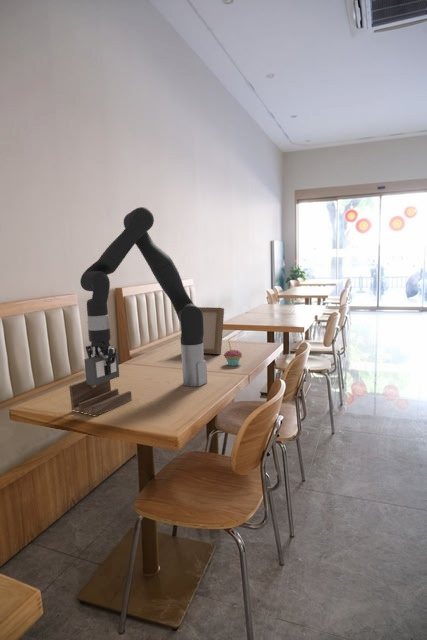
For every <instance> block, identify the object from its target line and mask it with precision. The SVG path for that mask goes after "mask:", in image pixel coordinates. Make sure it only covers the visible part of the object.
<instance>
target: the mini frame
mask: <svg viewBox="0 0 427 640" xmlns="http://www.w3.org/2000/svg"><path fill="white" fill-rule="evenodd" d="M118 354H119V353H118V352H116V357H115V362H114V363H112V364H111V374H110V375H108V376H106V375H105V371H104V366H105V365H104V361H103V360H102V358H101V356H96V357H92V356H91V358H88V357H87V358H85V359H83V360H84V369H85V370H84V372H85V380H86V383H87V384H88V385H94V386H95V385H97V384H100V383H103V382H106V381H109V380H110V381H111V380H114V379H117V378H119V377H120V367H119V356H118ZM106 356H107V355H105V357H106ZM111 360H112V358H111ZM106 361H108V359H107V358H106Z"/></svg>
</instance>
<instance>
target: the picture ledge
mask: <svg viewBox="0 0 427 640" xmlns="http://www.w3.org/2000/svg"><path fill="white" fill-rule="evenodd" d="M68 388H69V394H70V395H69V396H70V402H71V403H70V405H71V411H72V410H75V411H79V412H83V413H87V414H91V415H98V414H100V413H102V414H104V413H103V412H105V411H107V412H109V411H111V410H114V409H116V408H118V407H120V406H122V404H123V405H125V404H127V403H129V402H131V401H132V400H133V397H132V391H131V390H128V391H125V392H123V393H121V394H119V389H118V388H115V389H111V380H109V381H106V382H103V383H100V384H97V385H95V386H94V385H88V384H87V383H86V379H85V380H82V381H79V382H77V383H74V384H73V383H72V384H71V385H69V387H68ZM117 406H118V407H117ZM115 407H116V408H115ZM113 408H114V409H113ZM110 409H111V410H110ZM108 410H109V411H108ZM105 413H106V412H105ZM100 415H101V414H100ZM98 416H99V415H98Z"/></svg>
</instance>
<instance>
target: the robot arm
mask: <svg viewBox="0 0 427 640" xmlns="http://www.w3.org/2000/svg"><path fill="white" fill-rule="evenodd" d="M154 222H155V219H154V214H153V213H152V211H151V210H150V209H149V208H147V207H143V206H142V207H141V206H140V207H139V206H138V207H137V208H135V209H133V210H132V211H130V212H129V213H127V214H126V215H125V216H124V218H123V227H124V229H123V231H122V232H121V233H120V234H119V235H118V236H117V237H116V238H115V239H114V240H113V241H112V242H111V243H110V244H109V245H108V246H107V247H106V248H105V250H104V251H103V253H102V254H101V255H100V257H99V258H98V259H97V260H96V261H95V262H94V263H92V264H91V265H90V266H89V267H88V268H87V269H86V270H84V272H83V274H82V275H81V277H80V279H79V280H80V286H81V288H82V289H83V290H84V291H87V292H92V295H91V296H92V297H91V298H89V299H87V301H86V312H87V314H86V315H87V330H88V331H87V332H88V333H87V334H88V340H89V342H90V345H87V346H85V351H86V354H87V358H91V357H96V356H101V358H102V360H103V361H104V365H105V366H104V371H105V375H106V376H108V375H110V374H111V364H112V363H114V362H115V357H116V353H117V347H115V346H114V347H113V346H111V344H110V341H111V340H112V339H111V337H112V335H111V326H110V317H109V311H108V310H109V309H108V300H109V293H110V287H111V281H110V278H109V276H108V275H111V274H113V273H115V272H116V270H117V269H118V267H119V266H120V265H121V263H123V261H124V259H125V258H126V257H127V255H128V254H129V252H130V251H131V250H132V248H133V247H134V245H136V248H138V250H139V252H140V253H141V255H142V256H143V259H144V260H145V261H146V264H147V265H148V267H149V269H150V271H151V272H152V274H153V276H154V277H155V280H156V281H157V283H158V284H159V286H160V288H161V289H162V290H163V292H164V293H165V294H166V296H167V297H168V298H169V301H170V303H171V304H172V306H173V309H174V311H175V314H176V316H177V318H178V321H179V322H180V339H179V340H180V352H181V366H182V367H181V368H182V381H183V382H182V383H183V384H182V385H183V386H187V387H201V386H203V385H204V384H207V383H208V368H207V366H208V365H207V360H206V359H205V355H204V354H205V353H204V351H203V336H204V328H203V314H202V311H201V310H200V308H198V307H199V306H197V305H195V304H194V303H193V301H192V299H191V298H190V296H189V295H188V294H187V292H186V289H185V287H184V283H183V280H182V278H181V275H180V272H179V270H178V267H176V265H175V263H174V261H173V260H172V258H171V257H170V255H169V254H167V253H166V251H164V250H163V249H162V248H160V247H159V246H158V245H157V244H156V243H155V242H154V240H153V239H152V238H151V237H152V236H150V234H149V232H148V231H149V230H150V229H151V228H152V227H153V226H154ZM105 355H107V356H106V357H105ZM106 358H107V359H108V361H106ZM111 358H112V360H111Z"/></svg>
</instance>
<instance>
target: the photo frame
mask: <svg viewBox="0 0 427 640" xmlns="http://www.w3.org/2000/svg"><path fill="white" fill-rule="evenodd" d="M197 307H198V308H200V310H201V311H202V314H203V328H204V336H203V351H204V354H211V355H212V354H213V355H221V354H222V345H223V344H222V343H223V329H224V316H225V315H224V314H225V308H223V307H206V306H205V307H202V306H201V307H200V306H197Z"/></svg>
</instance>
